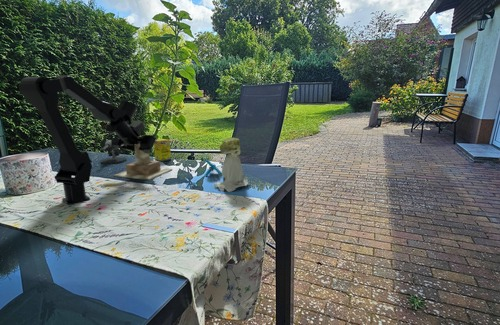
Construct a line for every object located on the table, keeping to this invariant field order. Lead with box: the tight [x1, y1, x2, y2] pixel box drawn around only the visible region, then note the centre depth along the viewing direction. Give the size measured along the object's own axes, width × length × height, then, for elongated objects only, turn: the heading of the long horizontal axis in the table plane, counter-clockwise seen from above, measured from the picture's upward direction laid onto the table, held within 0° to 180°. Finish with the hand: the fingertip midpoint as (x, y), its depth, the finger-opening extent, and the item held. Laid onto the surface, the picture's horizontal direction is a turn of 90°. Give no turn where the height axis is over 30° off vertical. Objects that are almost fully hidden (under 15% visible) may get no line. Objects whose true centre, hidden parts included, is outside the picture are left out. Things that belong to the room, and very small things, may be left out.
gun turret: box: [99, 136, 128, 165], centre depth 142 cm, size 13×20×13 cm, turn 14°
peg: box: [134, 144, 151, 165], centre depth 122 cm, size 4×4×14 cm
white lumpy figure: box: [213, 137, 250, 193], centre depth 103 cm, size 12×13×18 cm
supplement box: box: [153, 138, 172, 163], centre depth 146 cm, size 6×6×11 cm
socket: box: [113, 160, 173, 181], centre depth 123 cm, size 18×16×5 cm
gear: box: [203, 158, 222, 177], centre depth 119 cm, size 11×6×10 cm
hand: (144, 152), depth 123 cm, fingers open, 5 cm apart
